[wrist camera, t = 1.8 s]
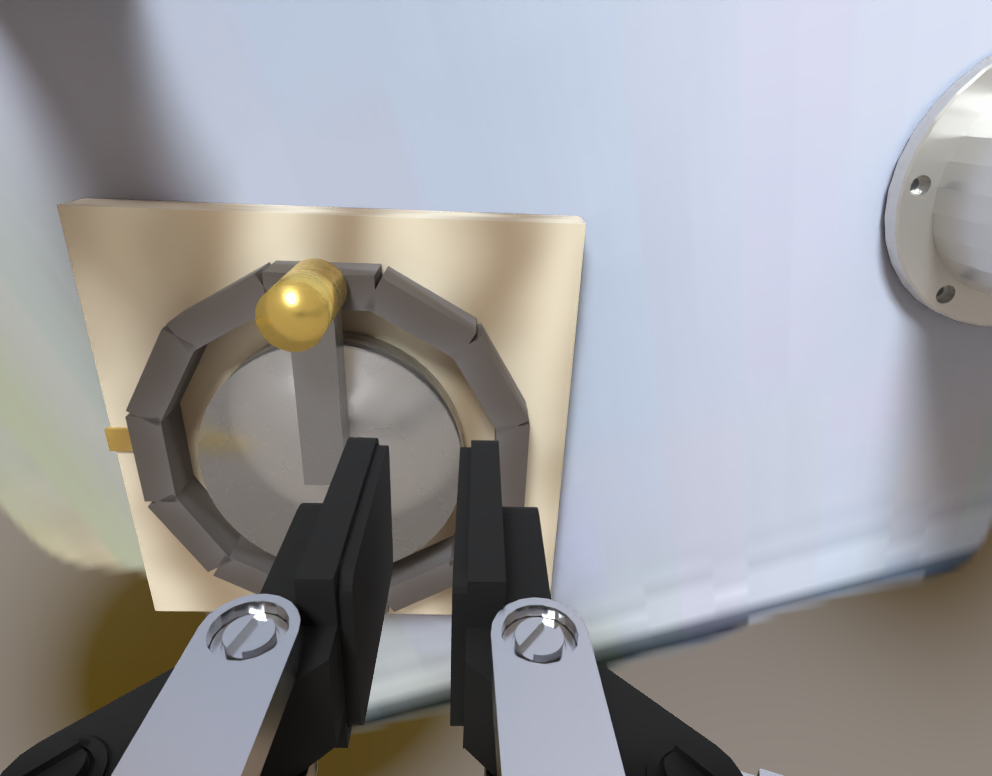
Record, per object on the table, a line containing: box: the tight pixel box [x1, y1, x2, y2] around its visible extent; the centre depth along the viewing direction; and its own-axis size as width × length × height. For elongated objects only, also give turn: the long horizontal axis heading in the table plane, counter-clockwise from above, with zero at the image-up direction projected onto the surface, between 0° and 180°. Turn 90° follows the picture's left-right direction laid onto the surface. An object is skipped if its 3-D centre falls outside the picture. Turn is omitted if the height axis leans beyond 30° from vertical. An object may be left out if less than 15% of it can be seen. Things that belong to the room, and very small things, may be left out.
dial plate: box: [57, 198, 586, 615], centre depth 31 cm, size 22×22×4 cm
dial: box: [198, 258, 464, 562], centre depth 27 cm, size 16×12×6 cm
